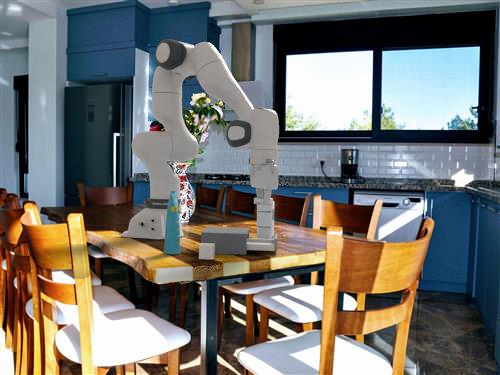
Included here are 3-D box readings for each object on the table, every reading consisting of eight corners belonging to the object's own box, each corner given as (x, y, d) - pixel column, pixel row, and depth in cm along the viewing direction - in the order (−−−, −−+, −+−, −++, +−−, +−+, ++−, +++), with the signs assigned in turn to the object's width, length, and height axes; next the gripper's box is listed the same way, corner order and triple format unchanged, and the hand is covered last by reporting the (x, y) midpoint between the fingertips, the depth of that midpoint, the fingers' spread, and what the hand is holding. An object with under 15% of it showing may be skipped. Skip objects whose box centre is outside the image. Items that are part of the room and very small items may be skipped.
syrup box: (271, 241, 167) (272, 201, 166) (255, 240, 168) (257, 201, 167) (274, 238, 172) (275, 200, 171) (258, 238, 173) (259, 200, 173)
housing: (200, 253, 140) (201, 232, 140) (207, 245, 154) (208, 226, 154) (246, 254, 139) (246, 234, 139) (248, 246, 153) (249, 228, 153)
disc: (256, 204, 142) (256, 198, 142) (251, 203, 147) (252, 196, 147) (275, 204, 143) (275, 198, 143) (269, 203, 149) (269, 197, 149)
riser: (198, 259, 131) (199, 245, 131) (201, 256, 135) (201, 242, 135) (212, 259, 131) (213, 245, 131) (214, 256, 135) (214, 243, 135)
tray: (235, 249, 141) (235, 237, 141) (238, 243, 152) (238, 232, 152) (277, 250, 140) (277, 238, 140) (277, 244, 151) (277, 233, 151)
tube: (178, 255, 135) (180, 191, 134) (162, 255, 135) (163, 190, 134) (181, 251, 143) (182, 189, 142) (165, 250, 142) (166, 189, 141)
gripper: (284, 158, 135) (283, 205, 136) (265, 160, 155) (264, 200, 156) (263, 158, 134) (262, 205, 134) (247, 159, 154) (246, 200, 154)
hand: (263, 202), depth 145 cm, fingers closed on disc, 6 cm apart
